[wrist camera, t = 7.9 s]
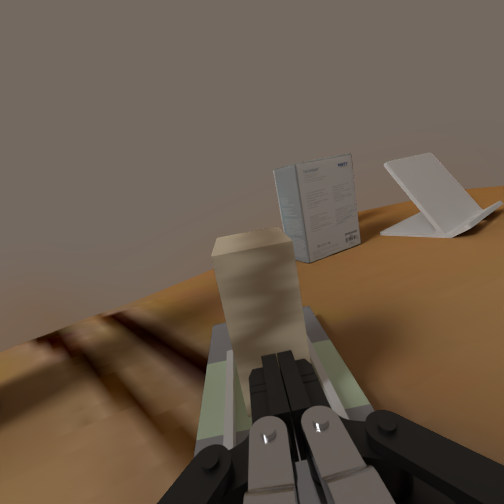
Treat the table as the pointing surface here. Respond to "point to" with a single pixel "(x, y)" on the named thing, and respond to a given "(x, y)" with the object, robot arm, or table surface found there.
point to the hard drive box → (318, 206)
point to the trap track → (233, 406)
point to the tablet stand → (433, 199)
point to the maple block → (260, 299)
